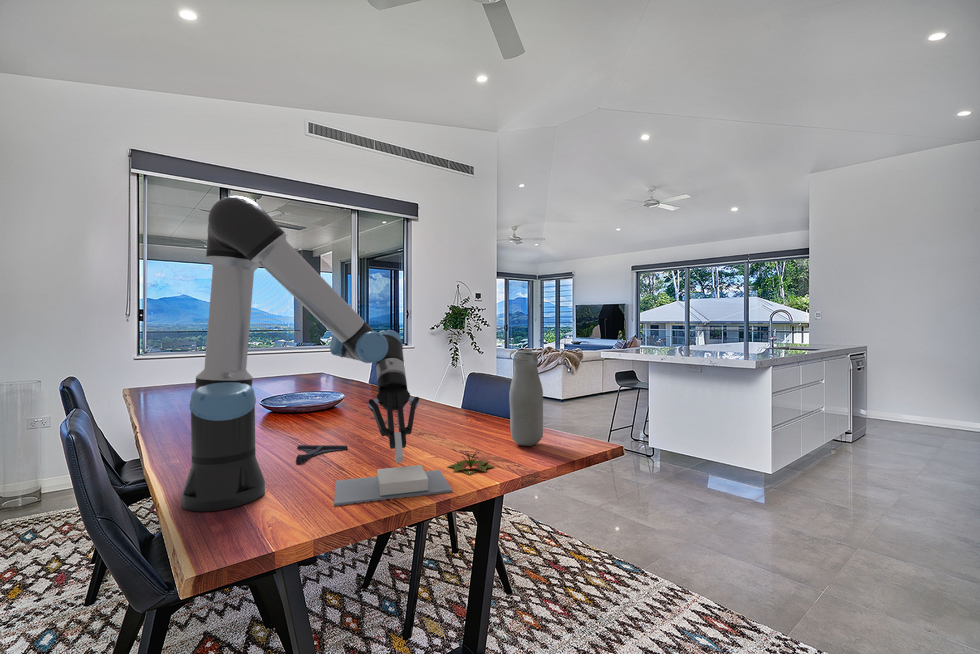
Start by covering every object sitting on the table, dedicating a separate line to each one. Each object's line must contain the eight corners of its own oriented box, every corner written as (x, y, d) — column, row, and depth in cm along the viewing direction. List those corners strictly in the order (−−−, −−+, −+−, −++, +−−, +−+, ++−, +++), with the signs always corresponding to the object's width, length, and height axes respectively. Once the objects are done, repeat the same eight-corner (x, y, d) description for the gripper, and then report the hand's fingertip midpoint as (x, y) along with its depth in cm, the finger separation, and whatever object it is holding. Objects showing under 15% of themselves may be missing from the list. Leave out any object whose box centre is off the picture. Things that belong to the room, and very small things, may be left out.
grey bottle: (543, 440, 140) (542, 349, 140) (543, 450, 130) (543, 351, 130) (510, 440, 141) (510, 349, 141) (508, 449, 131) (508, 351, 131)
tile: (377, 481, 104) (380, 497, 95) (377, 469, 104) (380, 484, 95) (421, 476, 107) (428, 491, 98) (421, 464, 107) (428, 478, 98)
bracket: (271, 466, 120) (271, 455, 120) (299, 450, 135) (299, 440, 135) (325, 467, 119) (325, 456, 119) (347, 451, 133) (347, 441, 133)
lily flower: (437, 469, 116) (437, 450, 116) (474, 459, 124) (473, 442, 124) (467, 481, 107) (467, 461, 107) (504, 469, 115) (504, 451, 115)
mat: (333, 506, 92) (333, 503, 91) (335, 482, 105) (335, 480, 105) (452, 492, 99) (452, 489, 99) (439, 471, 112) (439, 469, 112)
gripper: (366, 371, 118) (370, 453, 102) (417, 369, 122) (429, 448, 106) (366, 389, 123) (369, 470, 107) (414, 386, 127) (425, 464, 111)
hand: (399, 459), depth 106 cm, fingers closed
